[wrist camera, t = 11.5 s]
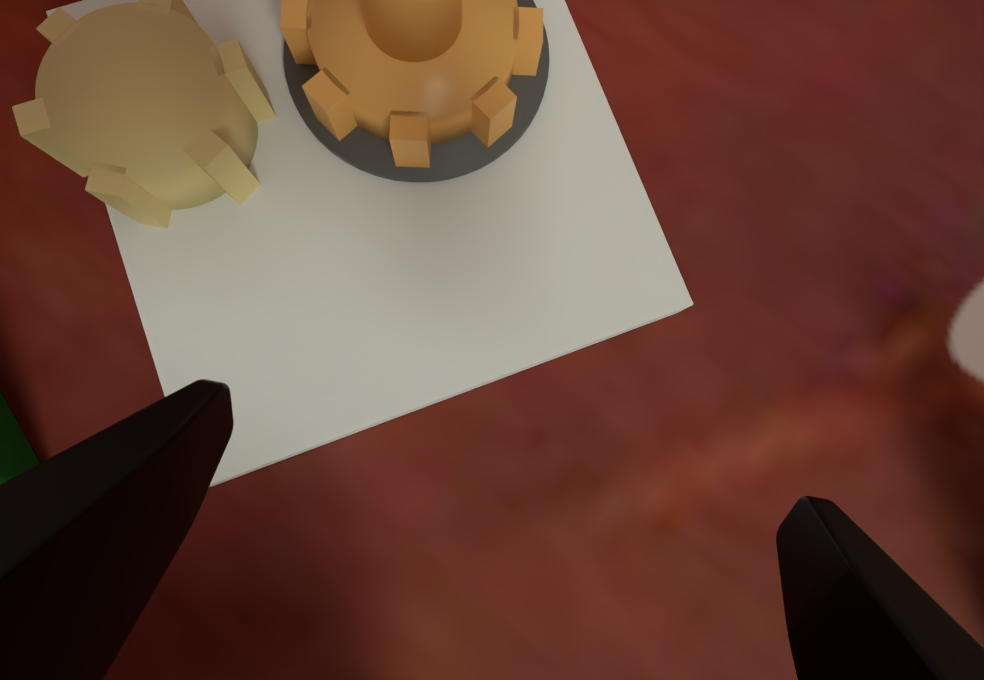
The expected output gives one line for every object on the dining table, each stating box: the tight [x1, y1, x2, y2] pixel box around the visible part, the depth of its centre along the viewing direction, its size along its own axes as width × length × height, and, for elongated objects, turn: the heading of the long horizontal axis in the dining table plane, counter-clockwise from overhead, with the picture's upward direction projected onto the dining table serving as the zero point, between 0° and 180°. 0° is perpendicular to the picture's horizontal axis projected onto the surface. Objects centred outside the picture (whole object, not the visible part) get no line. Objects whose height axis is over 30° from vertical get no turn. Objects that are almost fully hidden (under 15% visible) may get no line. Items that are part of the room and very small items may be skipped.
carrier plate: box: [12, 0, 693, 487], centre depth 21 cm, size 18×18×4 cm
